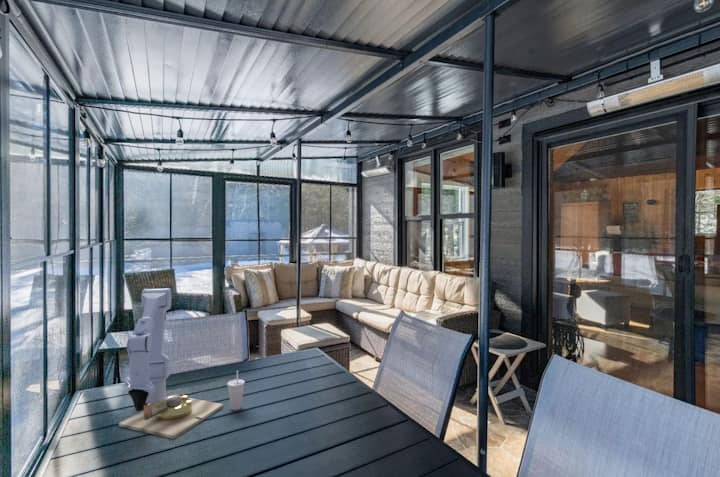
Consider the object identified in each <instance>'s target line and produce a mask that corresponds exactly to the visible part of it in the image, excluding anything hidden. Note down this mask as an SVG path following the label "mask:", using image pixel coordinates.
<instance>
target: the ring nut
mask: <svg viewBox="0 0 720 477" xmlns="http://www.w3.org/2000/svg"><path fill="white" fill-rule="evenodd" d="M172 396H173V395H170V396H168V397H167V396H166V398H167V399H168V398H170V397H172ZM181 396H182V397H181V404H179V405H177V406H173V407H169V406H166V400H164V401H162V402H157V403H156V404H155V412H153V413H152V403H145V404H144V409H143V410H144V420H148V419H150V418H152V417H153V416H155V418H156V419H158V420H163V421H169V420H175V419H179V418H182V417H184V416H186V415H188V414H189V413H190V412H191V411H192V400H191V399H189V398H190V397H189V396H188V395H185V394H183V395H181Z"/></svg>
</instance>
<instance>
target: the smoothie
mask: <svg viewBox="0 0 720 477" xmlns="http://www.w3.org/2000/svg"><path fill="white" fill-rule="evenodd" d="M245 382H246V381H245V380H244V379H241V378H240V379H239V370H236V379H235V378H234V379H232V380H229V381H228V382H227V383H226V384H227V385H226V386H227V387H226V388H227V389H228V396H229V403H230V405H229V406H230V410H232V411H238V410H240V409H241V408H242V404H243V397H244V386H245V385H246V383H245Z"/></svg>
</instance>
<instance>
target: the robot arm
mask: <svg viewBox="0 0 720 477" xmlns="http://www.w3.org/2000/svg"><path fill="white" fill-rule="evenodd" d="M172 298H173V297H172V289H171V288H170V287H167V288H143V290H142V291H141V296H140V300H141V303H142V306H143V311H142V316H141V317H140V318H139V319H137V321H136V324H135V327H134V329H133V333H132V335H131V336H129V337H128V338H127V342H126V352H127V357H128V359H129V378H126V379H124V386H125V387H126V389H127V390H128V391H127V393H128V395H129V396H130V398H131V399H132V402H133V405H134V410H135V411H136V412H141V411H143V410H144V404H145V403H152V406H153V405H155V404H156V403H157V402H162V401H164V400H165V399H167V398H166V397H167V386H166V384H167V381H166V380H167V379H168V377H170V375H171V360H170V359H171V358H170V357H169V356H168V355H166V354H165V353H164V339H165V338H164V336H165V320H166V313H167V311H168V310H171V307H172V300H173V299H172Z"/></svg>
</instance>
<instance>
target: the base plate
mask: <svg viewBox="0 0 720 477" xmlns="http://www.w3.org/2000/svg"><path fill="white" fill-rule="evenodd" d="M171 396H172V397H170V396H169V397H170V398H168V399H165V400H166V406H169V407H173V406H177V405H179V404H181V397H182V396H183V395H177V394H173V395H171ZM188 398H189V399H191V400H192V411H191V412H190V413H189V414H188V415H186V416H184V417H182V418H179V419H175V420H169V421H163V420H158V419H156V418H155V416H153V417H152V418H150V419H148V420H144V409H143V410H141V411H139V412H138V413H136V414H133V415H132V416H130V417H127V418H125V419H124V420H123V421H120V422H118V427H121V428H124V429H129V430H133V431H137V432H141V433H146V434H151V435H155V436H160V437H164V438H167V439H173V440H174V439H176V438H178V437H179V436H181V435H182V434H184V433H185V432H187V431H188V430H190V429H191V428H194V427H195V426H197V424H199V423H201V422H202V421H204V420H206V419H207V418H209V417H211V415H213V414H215V413H216V412H218V411H219V410H221V409H222V408H224V404H223V403H219V402H214V401H208V400H203V399H197V398H192V397H188ZM153 412H155V405H153V406H152V413H153Z"/></svg>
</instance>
